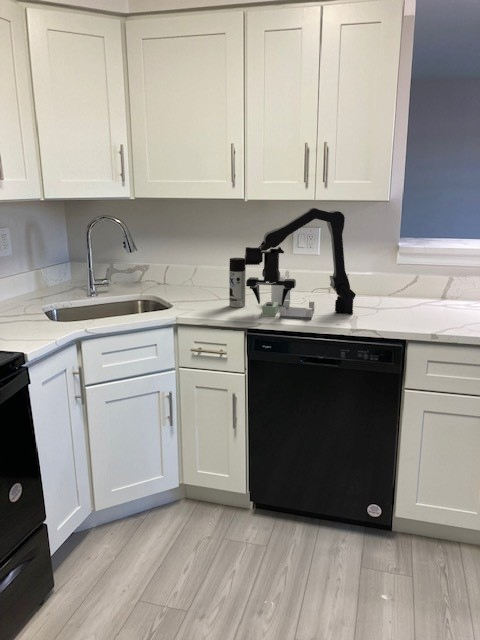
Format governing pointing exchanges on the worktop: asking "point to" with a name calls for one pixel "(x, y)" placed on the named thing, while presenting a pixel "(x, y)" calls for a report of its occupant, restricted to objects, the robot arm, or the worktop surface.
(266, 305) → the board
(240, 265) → the spray can
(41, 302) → the worktop surface
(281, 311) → the chassis
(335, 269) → the robot arm
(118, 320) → the worktop surface
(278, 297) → the photo printer
